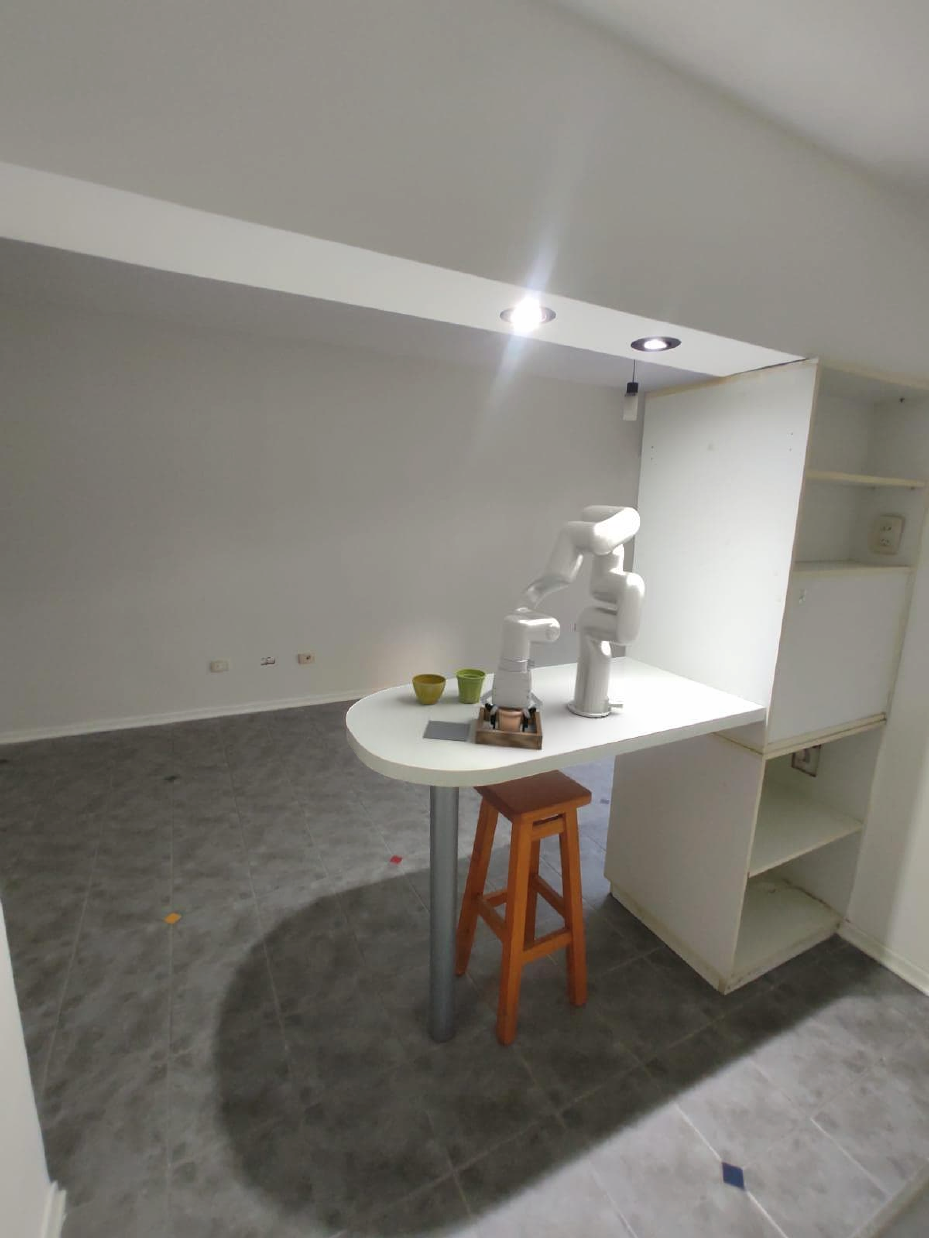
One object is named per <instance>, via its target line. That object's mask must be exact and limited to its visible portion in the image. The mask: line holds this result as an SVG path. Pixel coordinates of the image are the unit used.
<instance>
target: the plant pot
mask: <svg viewBox="0 0 929 1238" xmlns="http://www.w3.org/2000/svg"><path fill="white" fill-rule="evenodd" d="M454 675H455V676H456V680H457V686H458V688H457V689H458V698H459V701H460V702H462V703H464V704H469V703H471V704H476V703H479V702H480V697H481V696H482V695H481V694H482V690H483V684H484V681H485V679H486V677H487V673H486V671H484V670H482V669H478V668H460V669H458V670H456V671H455V672H454Z"/></svg>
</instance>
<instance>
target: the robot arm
mask: <svg viewBox="0 0 929 1238" xmlns="http://www.w3.org/2000/svg"><path fill="white" fill-rule="evenodd" d="M640 524H641V519H640V515H639V513H638V512H637V511H636V510H635V509H634V508H632V507H627V506H615V505H599V504H597V505H589V506H587V507H584V508H583V509H582V510H581V512H580V514H579V520H576V521H575V520H574V521H567V522H565V523H564V524H563V525H562V526H561V527H560V529H559V532H558V534H557V536H556V539H555V541H554V544H553V546H552V549H551V551H550V553H549V555H548V558H547V561H546V564H545V567H544V568H543V570H542V572H541V573H540V574H539V575H537V576H536V577H535V578H534V579H533V580H531V581H530V582H529V583H528V584H527V585H526V586H525V587H524V588H523V589H522V591H521V592H520V593H519V595H518V597H517V598H516V601H515V603H514V604H513V605H514V606H513V608H512V611H511V613H510V615H507V616H505V617H503V618H502V619H503V620H502V622H501V631H500V632H501V636H500V647H499V649H500V650H499V663H498V664H499V665H496V667H495V670H494V674H493V680H492V687H491V689H490V690H488V691H487V692H485V693H483V694H482V695H480V700H479V702H481V704H482V705H483V707H485V708H486V709H487V710H488V711H489V712H490V714H491V721H489V722H490V723H489V724H490V726H492V730H496V726H497V722H496V714H497V712H496V711H497V709H498V708H499V706H500V707H511V708H522V710H523V712H524V714H523V721H522V724H521V731H522V732H521V733H526V729H529V724H528V720H529V717H530V716H531V715H532V714H533V713H535V712H536V710H537V709H538V710H539V709H540V708H541V707H542V705H543V702H542V700H541V699H540V698H538V696H536V695H535V694H534V693H533V692H532V689H533V685H532V684H533V682H532V680H533V679H532V669H531V668H530V667H535V660H531V659H530V651H531V645H550V644H552V643H554V642H555V641H557V639H558V638H559V637H560V635H561V630H562V629H561V624H560V623H559V622H560V621H558V620H557V619H556V618H555V617H553V616H550V615H547V614H543V613H540V612H536V611H535V610H536V608H537V606H538V605H539V603H540V602H541V601H542V599H544V598H546V596H547V595H551V594H552V593H554V592H557V591H560V590H563V589H565V588H569V587H570V586H572V585H573V584H574V583H575V580H576V577H577V575H578V573H579V571H580V567H581V565H582V563H583V560H584V558H585V556H592V562H591V568H590V576H589V583H588V595H590V597H591V599H593V600H595V601H597V602H603V603H607V604H611V605H616V607H617V608H616V609H615V608H611V607H607V606H602V605H596V604H595V605H588V606H586V607H584V608H583V609H582V610H581V611H580V613H579V615H578V619H577V625H578V626H577V627H578V638H579V639H578V641H579V642H578V656H577V666H576V673H575V674H576V675H575V684H574V685H575V687H574V693H573V699H572V700H570V701H569V702H568V703H567V708H568V709H567V710H569V711H570V712H571V713H574V714H575V715H578V716H581V715H582V716H581V717H586V716H587V718H595V717H597V718H602V717H601V716H604V715H608V714H609V713H610V712H611V711H612V708H615V709H623V707H624V702H623V701H618V699H616V698H613V699H612V698H609V697H608V691H609V684H610V683H609V681H610V675H611V674H610V673H611V666H612V665H611V664H612V656H613V655H612V653H613V652H612V648H611V645H610V644H612V645H617V646H622V647H626V646H630V645H632V644H633V643H634V642H635V641H636V639H637V636H638V633H639V631H640V625H641V619H642V613H643V606H644V602H645V593H646V592H645V591H646V588H645V583H644V580H643V578H642V577H641V576H640V575H639V574H638V573H637V574H636V573H634V572H630V571H623V567H624V559H625V550H624V546H623V545H624V544H626V543H627V542H629V541H630V540H631V539H632V538H633V537H634V536H635V535H636V534H637V532H638V530H639V528H640ZM489 698H491V702H489V701H488V699H489ZM532 702H533V703H534V704H533V705H532V706H531V704H532ZM490 703H492V704H493V705H491V704H490ZM528 707H531V708H529V709H528ZM611 713H612V712H611ZM611 713H610V714H611ZM610 714H609V715H610ZM609 715H608V716H609ZM599 716H600V717H599Z"/></svg>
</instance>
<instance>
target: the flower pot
mask: <svg viewBox="0 0 929 1238" xmlns="http://www.w3.org/2000/svg"><path fill="white" fill-rule="evenodd" d="M411 682H412V686H413V690H414V693H415V695H416V698H417V700H418V701H419V702H420V703H421V704H422V703H423V704H422V705H435V704H437V703H438V702H439V700H440V698H441V697H442V695H443V693H444V691H445V687H446V683H447V678H446V676H442V675H441V674H434V673H421V674H417V675H414V676H412V678H411Z"/></svg>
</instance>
